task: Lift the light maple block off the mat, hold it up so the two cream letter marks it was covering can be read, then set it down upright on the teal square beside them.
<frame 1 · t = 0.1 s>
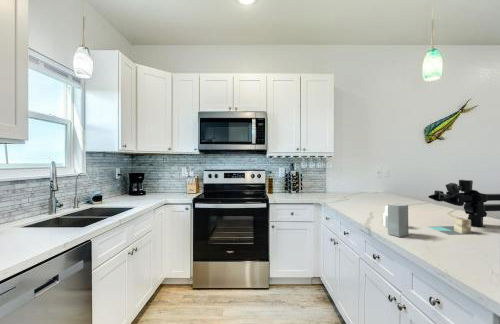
hand: (434, 198, 154), 17 cm above the worktop, tool horizontal, fingers open, 9 cm apart
maple block: (462, 232, 143), resting on code mat
code mat: (452, 230, 146), on the worktop
skincare box: (397, 235, 139), on the worktop
medicine bottle: (390, 226, 155), on the worktop
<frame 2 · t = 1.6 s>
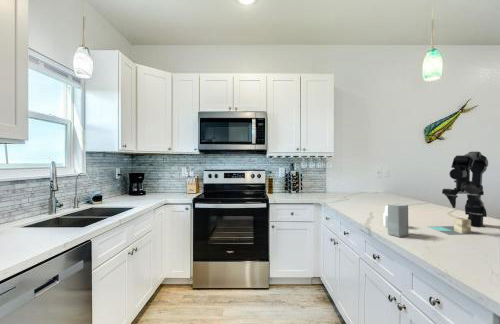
hand: (462, 207, 143), 13 cm above the worktop, tool pointing down, fingers open, 9 cm apart
nothing on the worktop moved.
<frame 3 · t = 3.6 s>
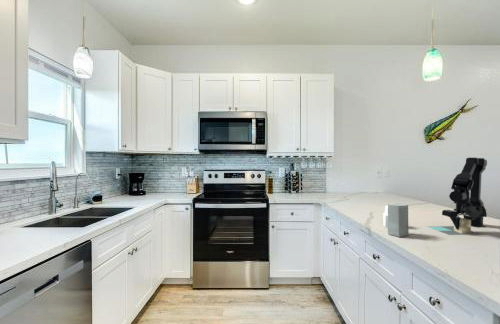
hand: (462, 229, 143), 2 cm above the worktop, tool pointing down, fingers closed on maple block, 5 cm apart
maple block: (462, 232, 143), resting on code mat, touching gripper
everything else where it was.
when the fingers open (3 cm above the worktop, at t = 10.7 s): maple block drops 2 cm, resting on code mat.
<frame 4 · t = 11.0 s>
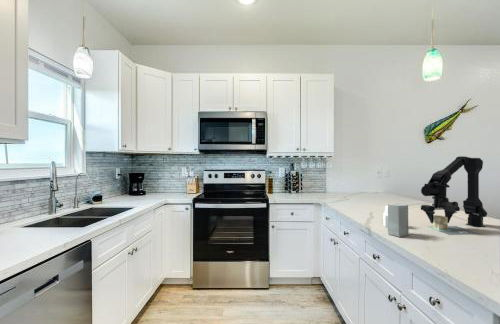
hand: (439, 223, 149), 3 cm above the worktop, tool pointing down, fingers open, 9 cm apart
maple block: (439, 228, 149), resting on code mat
everything else where it was.
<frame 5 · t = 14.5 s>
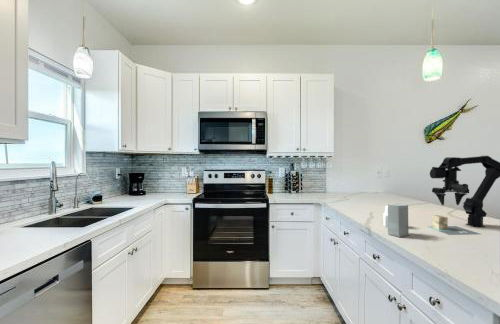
hand: (450, 205, 157), 12 cm above the worktop, tool pointing down, fingers open, 9 cm apart
nothing on the worktop moved.
at the end: maple block 0.0 cm from the target spot, resting on code mat; maple block tilted 0°; the gripper is holding nothing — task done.
